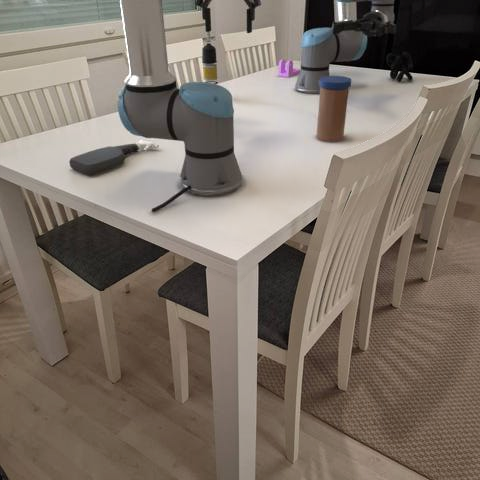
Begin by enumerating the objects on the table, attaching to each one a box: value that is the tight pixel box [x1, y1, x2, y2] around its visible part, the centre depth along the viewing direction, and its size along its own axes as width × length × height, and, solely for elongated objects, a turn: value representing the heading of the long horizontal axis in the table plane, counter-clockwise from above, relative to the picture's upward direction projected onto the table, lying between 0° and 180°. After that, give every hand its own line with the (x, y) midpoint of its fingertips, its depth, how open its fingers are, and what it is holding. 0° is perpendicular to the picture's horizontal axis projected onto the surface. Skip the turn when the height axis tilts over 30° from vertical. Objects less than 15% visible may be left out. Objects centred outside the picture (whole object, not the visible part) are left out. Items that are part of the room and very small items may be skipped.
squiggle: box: [385, 51, 414, 83], centre depth 198 cm, size 11×10×15 cm
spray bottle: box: [68, 139, 160, 177], centre depth 124 cm, size 3×11×24 cm
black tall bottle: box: [201, 31, 219, 85], centre depth 171 cm, size 6×6×30 cm
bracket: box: [277, 59, 301, 78], centre depth 213 cm, size 13×6×7 cm, turn 143°
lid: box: [319, 75, 352, 90], centre depth 129 cm, size 9×9×2 cm
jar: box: [316, 87, 350, 143], centre depth 133 cm, size 8×8×17 cm
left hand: (228, 32), depth 139 cm, fingers open, 13 cm apart
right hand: (355, 30), depth 136 cm, fingers open, 13 cm apart
